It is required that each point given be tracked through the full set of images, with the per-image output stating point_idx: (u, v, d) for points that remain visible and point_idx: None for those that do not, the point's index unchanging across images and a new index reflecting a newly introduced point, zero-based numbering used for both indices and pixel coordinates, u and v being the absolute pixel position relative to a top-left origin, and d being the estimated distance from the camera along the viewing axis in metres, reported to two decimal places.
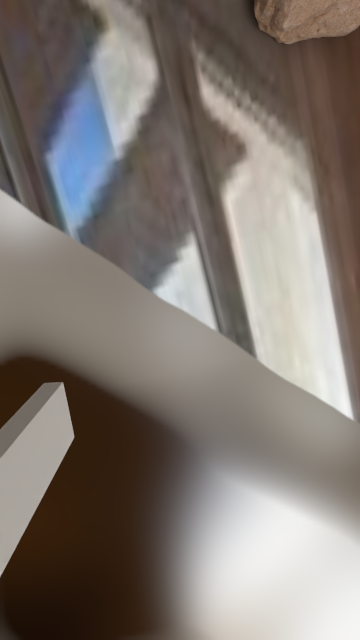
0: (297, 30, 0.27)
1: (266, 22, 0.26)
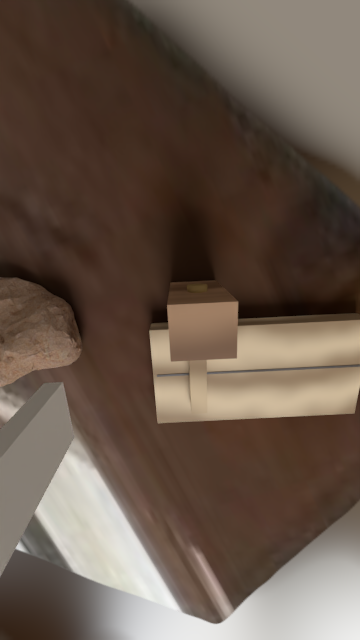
0: None
1: None
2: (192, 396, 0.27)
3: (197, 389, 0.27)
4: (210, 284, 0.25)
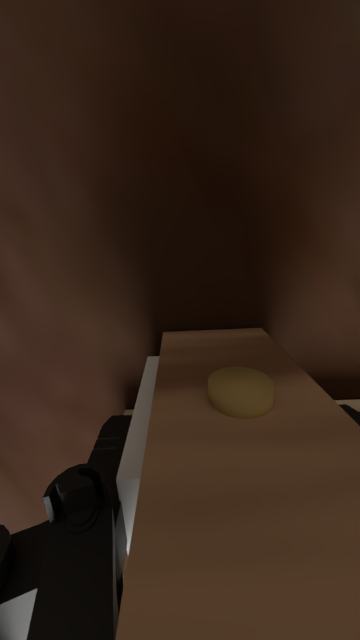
0: None
1: None
2: None
3: None
4: (260, 350, 0.10)
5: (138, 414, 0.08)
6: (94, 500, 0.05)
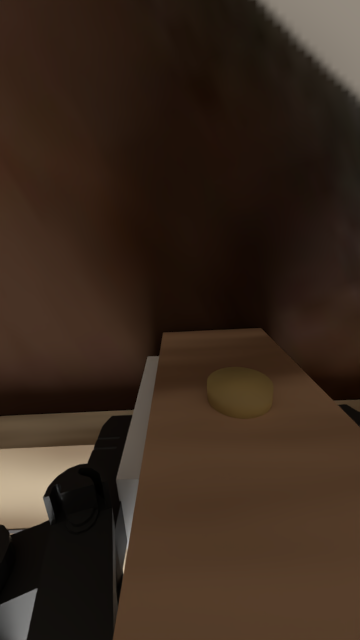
0: None
1: None
2: None
3: None
4: (259, 350, 0.10)
5: (138, 414, 0.08)
6: (94, 500, 0.05)
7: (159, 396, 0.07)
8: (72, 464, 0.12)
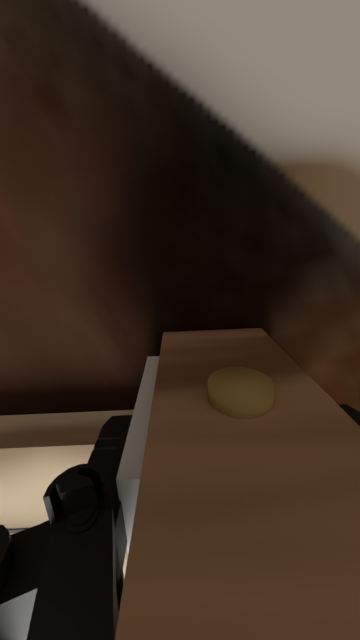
0: None
1: None
2: None
3: None
4: (260, 350, 0.10)
5: (138, 414, 0.08)
6: (94, 500, 0.05)
7: (160, 396, 0.07)
8: None
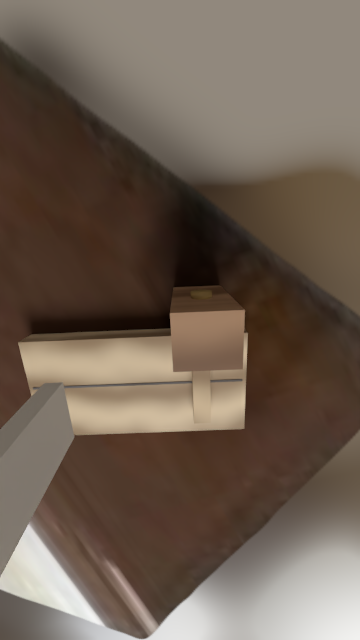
0: None
1: None
2: (195, 405, 0.26)
3: (200, 398, 0.26)
4: (214, 290, 0.24)
5: None
6: None
7: (174, 297, 0.21)
8: (71, 350, 0.26)
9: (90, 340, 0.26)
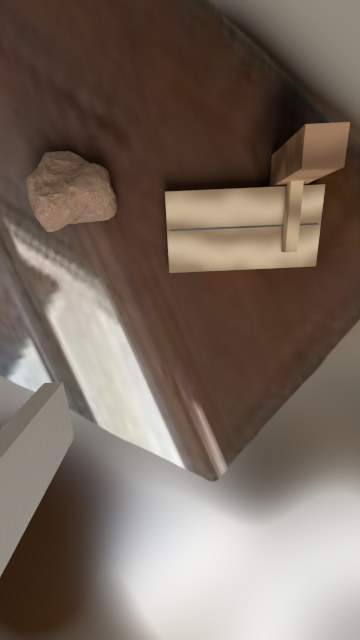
0: None
1: None
2: (287, 236, 0.37)
3: (292, 230, 0.37)
4: None
5: None
6: None
7: None
8: (201, 198, 0.37)
9: (215, 190, 0.37)
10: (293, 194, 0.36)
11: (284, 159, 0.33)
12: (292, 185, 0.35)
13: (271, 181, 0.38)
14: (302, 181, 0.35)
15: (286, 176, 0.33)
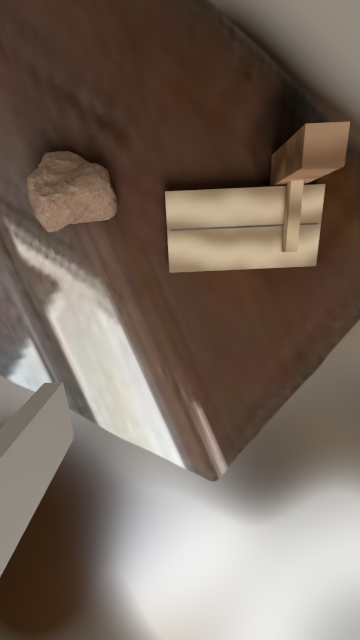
0: None
1: None
2: (288, 236, 0.37)
3: (292, 230, 0.37)
4: None
5: None
6: None
7: None
8: (201, 198, 0.37)
9: (215, 190, 0.37)
10: (293, 194, 0.36)
11: (285, 159, 0.33)
12: (292, 184, 0.35)
13: (271, 181, 0.38)
14: (302, 181, 0.35)
15: (286, 176, 0.33)
